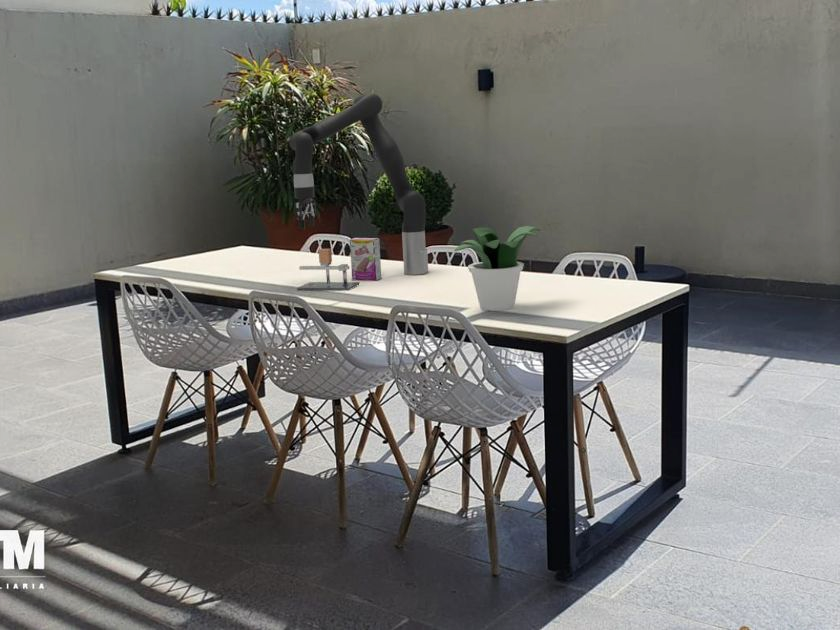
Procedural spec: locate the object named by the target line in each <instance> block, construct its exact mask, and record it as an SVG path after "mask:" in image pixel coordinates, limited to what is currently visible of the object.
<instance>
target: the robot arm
mask: <svg viewBox="0 0 840 630" xmlns="http://www.w3.org/2000/svg"><path fill="white" fill-rule="evenodd" d="M382 109H383V100H382V99H381V97H380V96H379V95H378V94H376V93H373V92H367V93H363V94H360V95H358V96H356V97H355V98H354V100H353V105H351V106H349V107H348V108H346V109H344V110H341V111H339V112H336V113H334V114H331V115H329V116H327V117H325V118H323V119H321V120H320V121H318V122H316V123H314V124H312V125H311V126H309V127H306V128H303V129H301V130H299V131H296V132H295V133H293V134H292V135H291V136H290V138H289V140H288V141H289V142H288V144H289V147H290V148H291V150H293V151H295V159H294V160H293V164H292V166H293V168H292V169H293V189H294V191H293V192H294V198H295V199H296V200H298V202H294V203H293V204H294V219H297V222H298V230H301V231H302V230H303V231H304V230H306V225H305V217H306V215H307V225H308V228H313V227H315V216H316V215H317V205H316V204H317V203H316V199H313V198H315V184H314V183H315V182H314V180H315V179H314V176H313V163H312V162H313V161H312V160H313V153H314V144H316V143H320V142H322V141H325V140H326V139H330V138H331V137H332V136H334V135H336V134H337V133H339V132H341V131H343V130H344V129H347V128H349V127H351V126H352V125H354V124H356V123H359V122H360V123H361V125H362V126H363V129H364V130H365V132H366V134H367V137H368V139H369V141H370V143H371V145H372V148H373V150H374V152H375V155H376V157H377V159H378V161H379V163H380V166H381V167H382V170H383V171H384V175H386V178H387V180H388V181H389V183H390V185H391V187H392V190H393V193H394V196H395V199H396V202H397V205H398V207H399V209H400V210H401V212H402V213H403V223H402V225H401V236H402V237H401V239H402V256H403V257H402V258H403V273H404V275H407V276H414V275H415V276H416V275H425V274H427V273H429V260H428V259H429V258H428V248H426V233H425V232H426V231H425V226H426V222H427V221H426V220H427V219H426V218H427V217H426V214H427V213H426V211H427V210H426V201H425V200H426V199H425V197H424V196H423V194H421V193H420V192H417V191H415V190H414V188H413V186H412V185H411V182H410V180H409V179H408V175H407V172H406V165H405V164H406V163H405V160H404V158H403V154H402V152H401V150H400V148H399V145H398V143H397V142H396V140H395V138H394V137H393V136H392V135H391V134H390V133H389V131H387V129H386V128H385V127H384V125H383V124H382V122H381V120H380V117H379V114H380V113H381V111H382Z"/></svg>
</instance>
